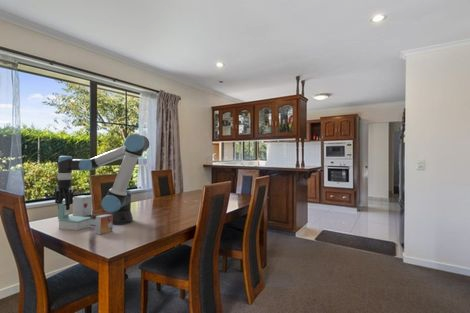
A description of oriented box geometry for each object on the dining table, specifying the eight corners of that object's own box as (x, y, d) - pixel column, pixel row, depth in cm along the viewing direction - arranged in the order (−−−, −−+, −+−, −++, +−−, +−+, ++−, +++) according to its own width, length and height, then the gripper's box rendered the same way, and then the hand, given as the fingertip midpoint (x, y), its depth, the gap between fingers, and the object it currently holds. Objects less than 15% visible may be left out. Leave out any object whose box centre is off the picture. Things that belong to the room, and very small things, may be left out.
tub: (89, 226, 161) (90, 219, 161) (77, 230, 152) (77, 222, 152) (72, 224, 164) (72, 217, 165) (58, 228, 155) (59, 221, 155)
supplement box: (82, 217, 185) (82, 197, 185) (72, 216, 187) (73, 196, 187) (91, 214, 194) (92, 195, 194) (82, 213, 196) (82, 195, 196)
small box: (99, 234, 146) (100, 217, 146) (94, 233, 149) (95, 215, 149) (112, 231, 153) (113, 214, 153) (107, 229, 156) (108, 213, 156)
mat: (107, 221, 176) (107, 220, 176) (94, 225, 164) (94, 224, 164) (88, 219, 179) (89, 218, 179) (75, 223, 168) (75, 222, 168)
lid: (91, 219, 162) (91, 203, 162) (77, 223, 151) (78, 206, 151) (68, 217, 166) (68, 201, 166) (53, 221, 155) (53, 204, 155)
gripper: (80, 179, 162) (79, 214, 162) (59, 178, 166) (58, 212, 166) (70, 180, 155) (69, 216, 155) (48, 179, 158) (47, 214, 158)
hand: (63, 214), depth 160 cm, fingers closed on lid, 4 cm apart
